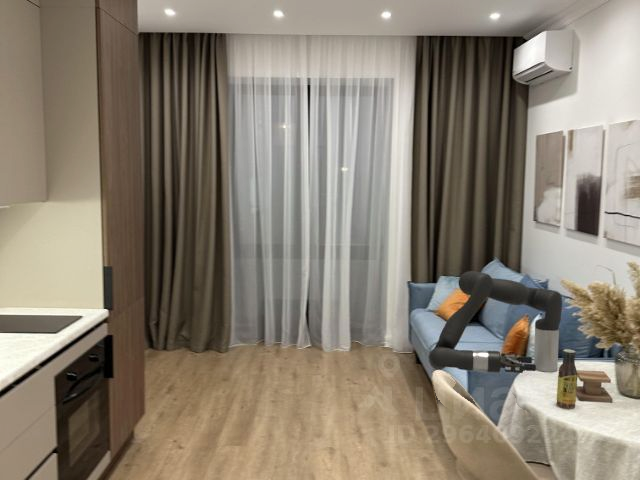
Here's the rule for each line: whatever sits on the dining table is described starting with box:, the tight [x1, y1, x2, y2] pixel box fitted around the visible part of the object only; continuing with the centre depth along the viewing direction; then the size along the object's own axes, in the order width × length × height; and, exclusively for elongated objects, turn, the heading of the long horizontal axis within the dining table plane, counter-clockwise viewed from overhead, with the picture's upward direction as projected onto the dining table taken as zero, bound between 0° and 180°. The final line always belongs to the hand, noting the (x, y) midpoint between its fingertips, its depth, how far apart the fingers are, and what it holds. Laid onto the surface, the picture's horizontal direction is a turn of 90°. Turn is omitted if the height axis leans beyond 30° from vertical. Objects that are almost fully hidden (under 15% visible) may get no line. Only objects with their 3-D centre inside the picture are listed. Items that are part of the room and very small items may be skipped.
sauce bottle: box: [556, 348, 578, 409], centre depth 209 cm, size 7×6×20 cm
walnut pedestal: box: [576, 369, 613, 404], centre depth 218 cm, size 11×11×8 cm
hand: (533, 363), depth 210 cm, fingers open, 8 cm apart
